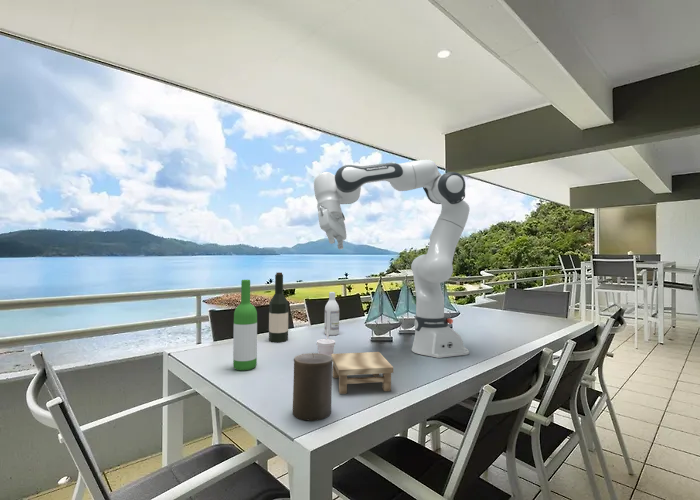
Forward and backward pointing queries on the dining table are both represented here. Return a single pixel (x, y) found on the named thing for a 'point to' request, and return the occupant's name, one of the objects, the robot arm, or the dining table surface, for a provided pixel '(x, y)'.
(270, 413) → the dining table surface
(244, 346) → the wine bottle
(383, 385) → the footstool
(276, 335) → the wine bottle
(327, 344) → the smoothie
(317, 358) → the pillar candle
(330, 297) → the bath foam
